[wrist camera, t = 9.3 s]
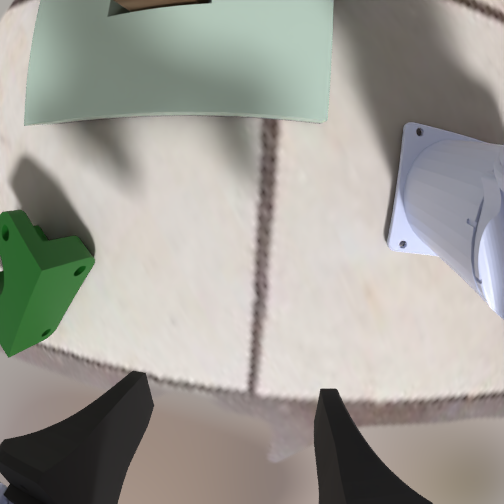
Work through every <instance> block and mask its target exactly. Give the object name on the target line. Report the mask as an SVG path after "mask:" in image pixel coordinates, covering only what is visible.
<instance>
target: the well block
mask: <svg viewBox="0 0 504 504" xmlns="http://www.w3.org/2000/svg"><path fill="white" fill-rule="evenodd" d="M332 35H333V0H209V1H208V4H192V5H181V6H171V7H162V8H155V9H148V10H141V11H135V12H130V11H129V10H127V9H126V8H124V7H123V6H121V5H120V4H118V3H117V2H115V1H113V0H41V1H40V5H39V9H38V14H37V19H36V23H35V29H34V34H33V40H32V46H31V52H30V60H29V67H28V76H27V86H26V99H25V117H24V126H27V125H43V124H59V123H67V122H76V121H85V120H96V119H108V118H123V117H142V116H231V117H251V118H266V119H279V120H290V121H300V122H309V123H318V124H321V123H323V122H325V121H327V119H328V106H329V92H330V76H331V58H332Z"/></svg>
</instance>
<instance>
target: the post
mask: <svg viewBox="0 0 504 504" xmlns="http://www.w3.org/2000/svg"><path fill="white" fill-rule="evenodd" d="M113 1H115V2H117V3H118V4H120V5H121V6H123V7H124V8H126V9H127V10H129V11H130V12H135V11H141V10H148V9H155V8H162V7H171V6H181V5H192V4H208V1H209V0H113Z"/></svg>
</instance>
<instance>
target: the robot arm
mask: <svg viewBox="0 0 504 504" xmlns="http://www.w3.org/2000/svg"><path fill="white" fill-rule="evenodd" d="M418 128H419V129H420V130H421V135H420V136H418V135H417V134H416V130H417V129H418ZM401 241H405V244H404V245H403V246H401V247H400V246H399V244H400V242H401ZM387 245H388V247H389V248H390V249H391V250H393V251H398V252H407V253H416V254H424V255H433V256H439V257H440V258H441V259H442V260H443V261H444V262H445V263H446V264H447V265H449V266H450V267H451V268H452V269H453V270H454V271H455V272H456V273H457V274H458V275H459V276H460V277H461V278H462V279H463V280H464V281H465V282H466V283H467V284H468V285H469V286H470V287H471V288H472V289H473V290H474V291H475V292H476V293H477V294H478V295H479V296H480V297H481V298H482V299H483V300H484V301H485V302H486V303H487V304H488V305H489V306H490V307H491V309H492V310H493V311H494V312H495V313H497V314H498V315H499V316H500V317H501V318H503V319H504V145H499V144H491V143H487V142H484V141H480V140H477V139H474V138H471V137H467V136H464V135H461V134H457V133H454V132H450V131H446V130H443V129H439V128H435V127H431V126H427V125H423V124H418V123H414V122H408V123H406V124H405V125H404V128H403V136H402V146H401V155H400V163H399V171H398V179H397V186H396V193H395V199H394V206H393V212H392V217H391V223H390V229H389V234H388V239H387ZM153 407H154V403H153V400H152V396H151V392H150V388H149V384H148V380H147V376H146V373H143V372H137V371H132V372H131V373H129V374H128V375H127V376H126V377H124V378H123V379H122V380H121V381H120V382H118V383H117V384H116V385H115V386H113V387H112V388H111V389H110V390H108V391H107V392H106V393H105V394H103V395H102V396H101V397H99V398H98V399H97V400H95V401H94V402H93V403H91V404H89V405H88V406H87V407H85V408H84V409H82V410H81V411H79V412H77V413H76V414H74V415H73V416H70V417H69V418H67V419H65V420H63V421H61V422H59V423H57V424H54V425H52V426H50V427H47V428H45V429H43V430H40V431H37V432H34V433H31V434H27V435H24V436H19V437H15V438H10V439H5V440H4V441H3V442H2V443H1V444H0V473H1V474H2V475H3V476H4V477H5V478H6V480H7V481H8V482H9V483H10V485H9V486H8V488H7V487H6V486H5V485H4V484H2V483H1V482H0V504H118V499H119V496H120V492H121V489H122V485H123V482H124V479H125V476H126V472H127V470H128V467H129V465H130V462H131V460H132V458H133V456H134V454H135V451H136V450H137V447H138V445H139V443H140V441H141V439H142V437H143V435H144V433H145V431H146V428H147V426H148V424H149V420H150V417H151V414H152V411H153ZM314 447H315V456H316V465H317V475H318V484H319V504H433V503H432V502H430V501H429V500H427V499H426V498H424V497H423V496H421V495H419V494H418V493H417V492H415V491H414V490H412V489H411V488H410V487H409V486H408V485H406V484H405V483H404V482H403V481H402V480H400V479H399V478H398V477H397V476H396V475H395V474H394V473H393V472H392V471H391V470H390V469H389V468H388V467H387V466H386V465H385V464H384V463H383V462H382V461H381V460H380V458H379V457H378V456H377V455H376V454H375V452H374V451H373V450H372V449H371V447H370V446H369V445H368V443H367V442H366V440H365V439H364V438H363V436H362V435H361V433H360V431H359V430H358V428H357V427H356V425H355V423H354V422H353V420H352V418H351V417H350V415H349V413H348V411H347V409H346V407H345V405H344V403H343V401H342V399H341V397H340V395H339V392H338V390H337V389H320V394H319V400H318V405H317V410H316V415H315V420H314Z"/></svg>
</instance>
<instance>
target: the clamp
mask: <svg viewBox="0 0 504 504" xmlns="http://www.w3.org/2000/svg"><path fill="white" fill-rule="evenodd" d="M0 256H1V259H2V264H3V270H4V271H1V272H0V345H1V346H2V348H3V350H4V351H5V353H6V354H7V356H8V357H11V356H13V355H15V354H17V353H19V352H21V351H23V350H25V349H27V348H29V347H31V346H33V345H35V344H37V343H39V342H41V341H43V340H45V339H46V338H48V337H49V336H50V335H51V334H52V333H53V332H54V331H55V330H56V329H57V327H58V325H59V323H60V321H61V320H62V318H63V316H64V314H65V312H66V311H67V309H68V307H69V305H70V304H71V302H72V300H73V298H74V297H75V295H76V293H77V292H78V290H79V288H80V287H81V285H82V283H83V282H84V280H85V278H86V277H87V275H88V273H89V272H90V270H91V269H92V267H93V265H94V263H95V259H94V258H93V256H92V255H91V254H90V252H89V251H88V250H87V248H86V247H85V245H84V244H83V243H82V241H81V240H80V238H79V237H78V236H69V237H64V238H59V239H54V240H49V241H48V239H47V237H46V236H45V234H44V233H43V231H42V229H41V228H40V227H39V226H38V225H36V226H33V225H32V223H31V222H30V220H29V218H28V216H27V215H26V213H25V212H24V211H22V210H14V211H6V212H2V213H1V214H0Z"/></svg>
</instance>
